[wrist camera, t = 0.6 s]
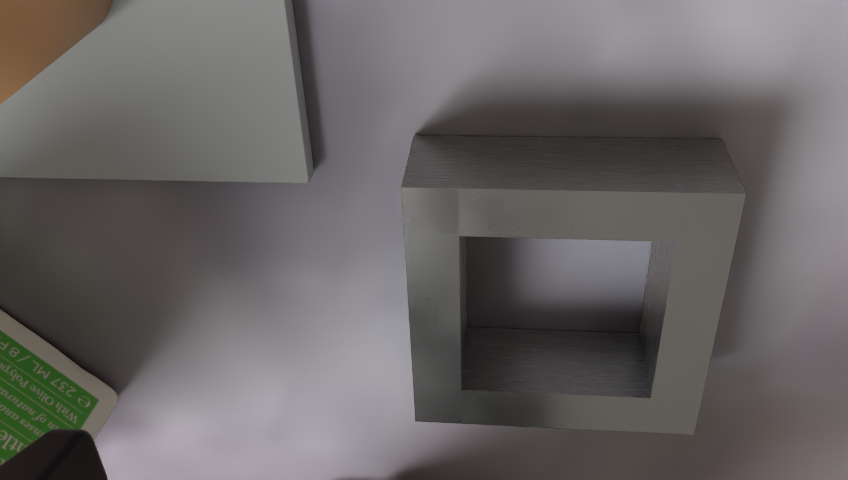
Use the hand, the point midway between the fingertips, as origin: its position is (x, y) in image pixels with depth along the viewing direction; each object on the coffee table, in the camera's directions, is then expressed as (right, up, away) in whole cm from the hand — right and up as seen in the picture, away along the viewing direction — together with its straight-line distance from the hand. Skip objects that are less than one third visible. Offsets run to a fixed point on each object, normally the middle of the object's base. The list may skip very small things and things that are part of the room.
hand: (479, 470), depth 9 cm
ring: (+3, +2, +12) cm, 12 cm away
